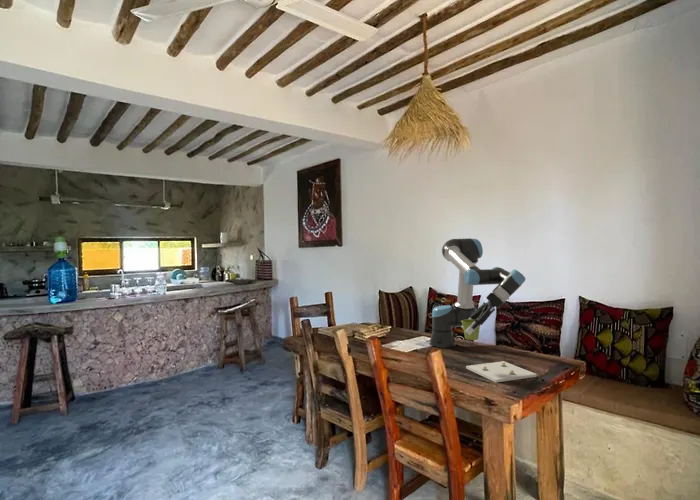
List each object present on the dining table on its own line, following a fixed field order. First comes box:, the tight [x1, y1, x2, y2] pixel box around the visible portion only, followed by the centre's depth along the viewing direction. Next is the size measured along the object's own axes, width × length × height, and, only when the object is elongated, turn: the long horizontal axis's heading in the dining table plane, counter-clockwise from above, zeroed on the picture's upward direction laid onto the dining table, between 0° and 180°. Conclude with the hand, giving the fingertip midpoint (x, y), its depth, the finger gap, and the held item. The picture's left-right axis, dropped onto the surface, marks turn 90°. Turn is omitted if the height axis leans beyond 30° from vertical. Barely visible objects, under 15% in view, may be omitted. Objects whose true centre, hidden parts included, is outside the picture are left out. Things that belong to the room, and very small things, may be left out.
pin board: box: [465, 360, 538, 383], centre depth 190 cm, size 22×22×3 cm
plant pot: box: [461, 319, 481, 341], centre depth 194 cm, size 9×9×9 cm
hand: (465, 331), depth 194 cm, fingers closed on plant pot, 9 cm apart
